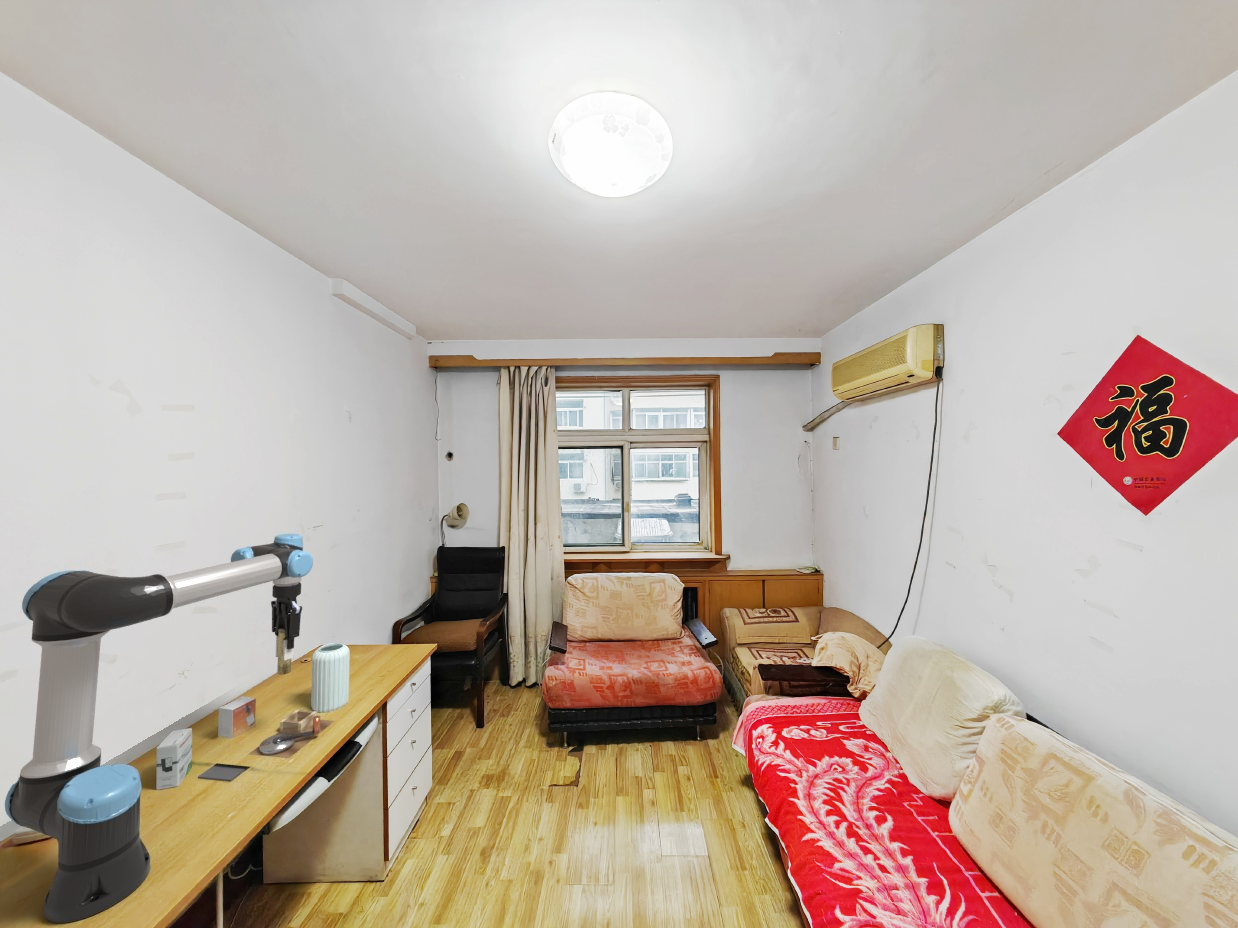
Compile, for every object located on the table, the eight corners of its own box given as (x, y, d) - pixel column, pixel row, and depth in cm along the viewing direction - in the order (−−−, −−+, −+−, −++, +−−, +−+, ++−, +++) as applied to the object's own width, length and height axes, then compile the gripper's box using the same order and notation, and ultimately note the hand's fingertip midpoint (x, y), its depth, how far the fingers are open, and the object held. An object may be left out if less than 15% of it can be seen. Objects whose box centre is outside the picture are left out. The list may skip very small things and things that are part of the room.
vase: (347, 697, 181) (348, 638, 181) (349, 711, 171) (351, 649, 171) (311, 705, 175) (312, 644, 174) (311, 720, 165) (312, 656, 165)
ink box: (171, 770, 138) (172, 729, 138) (192, 767, 140) (193, 726, 139) (154, 790, 130) (155, 747, 130) (177, 787, 132) (178, 743, 131)
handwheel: (319, 743, 150) (319, 723, 150) (257, 757, 142) (257, 736, 142) (320, 728, 157) (320, 709, 157) (261, 741, 150) (261, 721, 150)
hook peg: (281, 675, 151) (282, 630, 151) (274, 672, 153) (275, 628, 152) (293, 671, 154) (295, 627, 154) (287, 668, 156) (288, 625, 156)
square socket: (300, 734, 155) (300, 723, 155) (279, 732, 155) (279, 721, 155) (316, 721, 162) (316, 711, 162) (296, 719, 163) (296, 709, 162)
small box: (231, 743, 151) (232, 710, 151) (217, 740, 152) (217, 707, 152) (255, 729, 159) (256, 697, 159) (241, 726, 160) (242, 695, 160)
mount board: (289, 762, 143) (289, 757, 143) (248, 758, 144) (248, 753, 144) (334, 725, 163) (334, 720, 163) (298, 721, 164) (298, 717, 164)
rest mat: (230, 781, 134) (230, 779, 134) (197, 778, 135) (197, 776, 135) (260, 758, 144) (260, 757, 144) (229, 755, 145) (229, 754, 145)
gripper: (314, 584, 153) (312, 658, 153) (285, 577, 160) (282, 647, 160) (289, 590, 146) (286, 667, 146) (259, 581, 154) (257, 655, 154)
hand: (284, 656), depth 153 cm, fingers closed on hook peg, 3 cm apart
